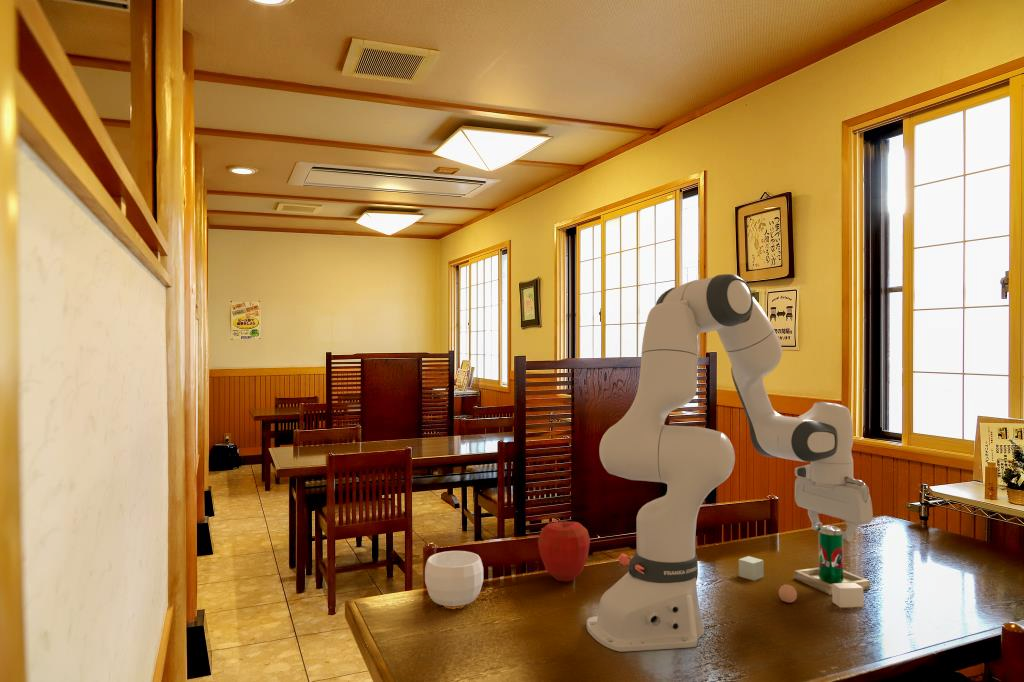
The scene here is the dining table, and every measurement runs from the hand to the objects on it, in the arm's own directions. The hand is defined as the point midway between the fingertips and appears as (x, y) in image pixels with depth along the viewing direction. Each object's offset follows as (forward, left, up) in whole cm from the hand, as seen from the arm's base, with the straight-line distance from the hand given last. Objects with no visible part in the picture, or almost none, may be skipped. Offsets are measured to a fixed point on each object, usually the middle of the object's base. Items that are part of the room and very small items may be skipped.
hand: (832, 535), depth 155 cm
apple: (-56, +24, -11) cm, 62 cm away
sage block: (-14, +11, -11) cm, 21 cm away
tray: (0, +1, -11) cm, 11 cm away
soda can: (0, +1, -11) cm, 11 cm away
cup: (-84, +17, -11) cm, 86 cm away
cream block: (-6, -10, -11) cm, 16 cm away
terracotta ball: (-17, -5, -9) cm, 20 cm away
